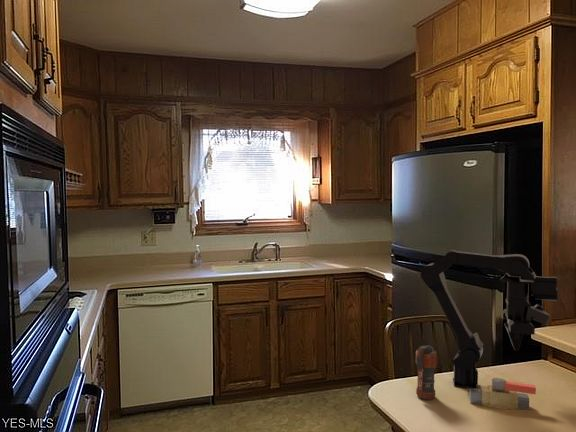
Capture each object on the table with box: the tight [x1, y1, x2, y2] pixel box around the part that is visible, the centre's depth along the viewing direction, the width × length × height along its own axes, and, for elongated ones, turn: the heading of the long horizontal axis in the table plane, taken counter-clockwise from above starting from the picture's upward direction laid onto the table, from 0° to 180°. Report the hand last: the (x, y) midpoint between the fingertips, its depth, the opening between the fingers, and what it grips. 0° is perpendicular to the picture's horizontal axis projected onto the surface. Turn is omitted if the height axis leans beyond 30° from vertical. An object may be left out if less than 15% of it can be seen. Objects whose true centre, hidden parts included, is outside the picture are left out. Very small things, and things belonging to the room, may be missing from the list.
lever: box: [491, 377, 537, 395], centre depth 133 cm, size 11×4×2 cm, turn 67°
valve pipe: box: [469, 384, 530, 411], centre depth 135 cm, size 15×5×4 cm, turn 74°
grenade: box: [415, 345, 438, 401], centre depth 139 cm, size 6×8×15 cm
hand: (516, 349), depth 142 cm, fingers closed
